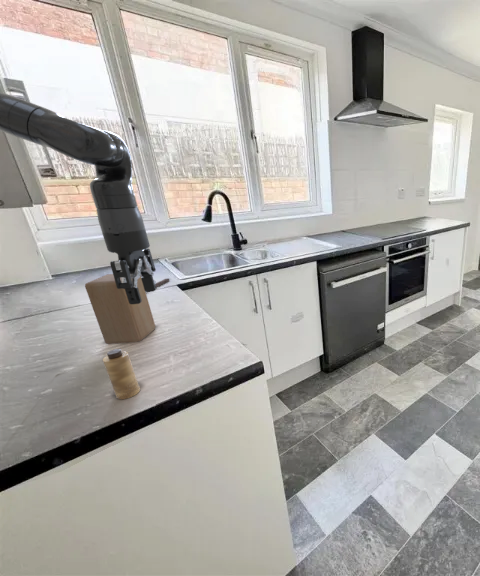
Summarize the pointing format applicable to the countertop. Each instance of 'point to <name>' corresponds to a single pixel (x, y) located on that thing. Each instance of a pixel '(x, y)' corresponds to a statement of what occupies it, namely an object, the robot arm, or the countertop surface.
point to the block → (119, 311)
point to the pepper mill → (121, 374)
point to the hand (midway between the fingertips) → (143, 297)
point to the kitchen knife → (160, 282)
